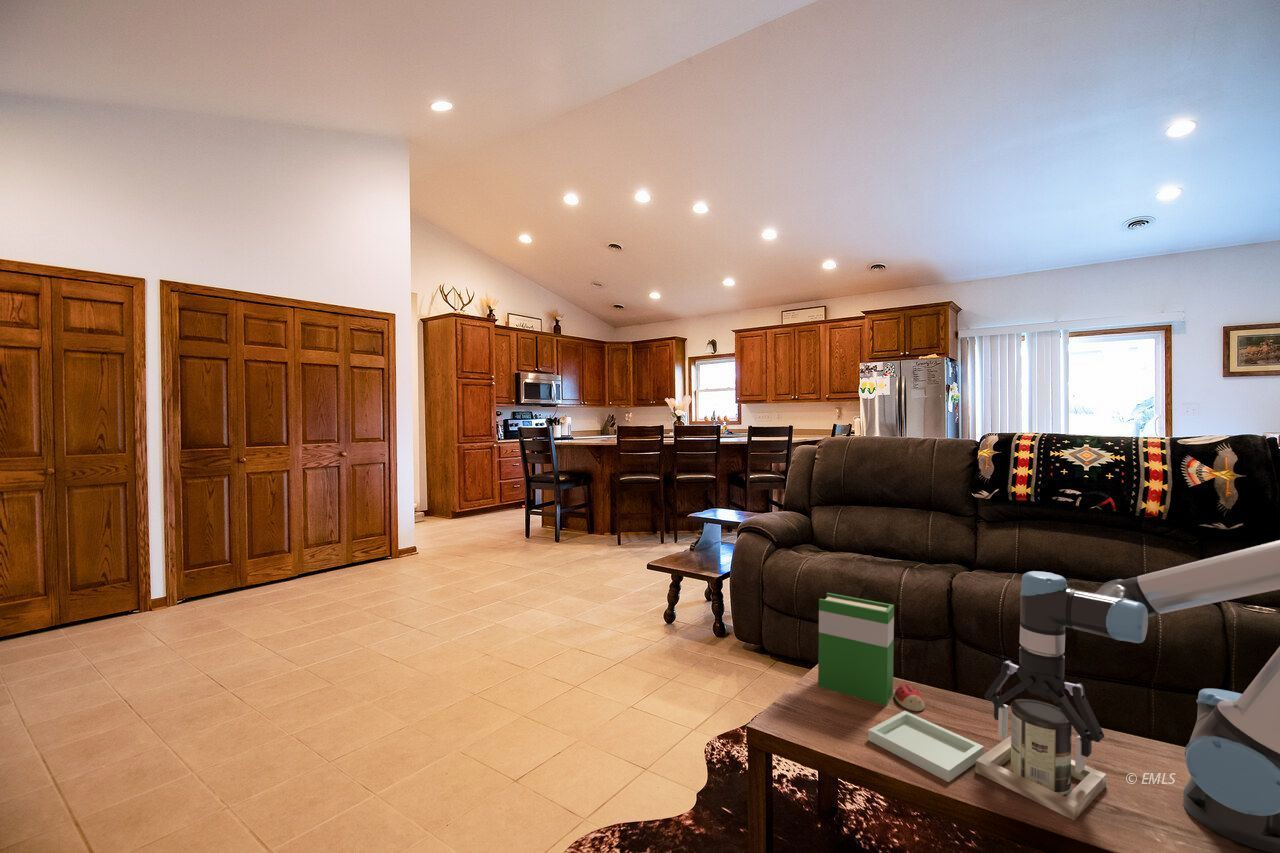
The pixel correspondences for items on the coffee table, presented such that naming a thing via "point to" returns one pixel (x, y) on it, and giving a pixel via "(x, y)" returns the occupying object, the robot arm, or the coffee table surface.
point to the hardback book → (856, 647)
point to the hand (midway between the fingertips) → (1039, 752)
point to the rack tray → (926, 745)
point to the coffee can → (1041, 744)
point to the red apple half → (909, 698)
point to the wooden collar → (1066, 806)
